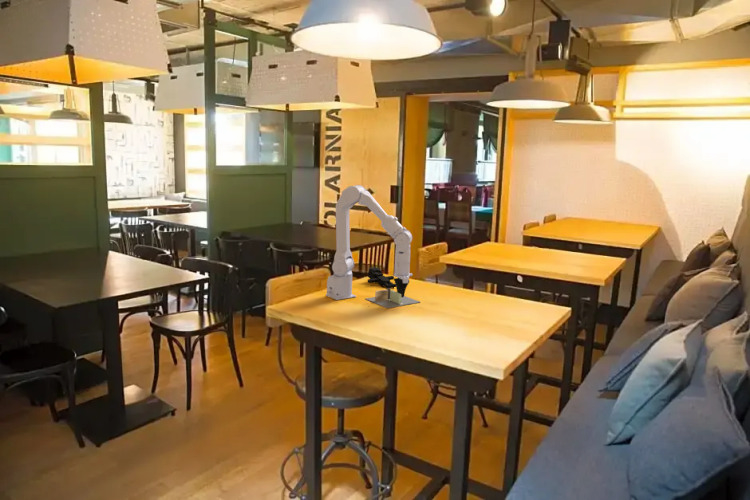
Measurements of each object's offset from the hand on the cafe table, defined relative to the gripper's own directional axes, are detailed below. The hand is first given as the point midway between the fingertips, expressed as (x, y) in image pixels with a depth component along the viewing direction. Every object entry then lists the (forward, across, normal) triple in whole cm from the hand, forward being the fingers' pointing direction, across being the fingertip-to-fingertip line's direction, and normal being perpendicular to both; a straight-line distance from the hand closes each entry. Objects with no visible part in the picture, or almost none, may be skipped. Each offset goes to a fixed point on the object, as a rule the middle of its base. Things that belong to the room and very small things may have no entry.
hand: (400, 297), depth 208 cm
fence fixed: (+2, +3, +6) cm, 7 cm away
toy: (+3, +28, +2) cm, 28 cm away
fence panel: (+2, 0, +2) cm, 3 cm away
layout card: (+2, +3, +2) cm, 4 cm away
